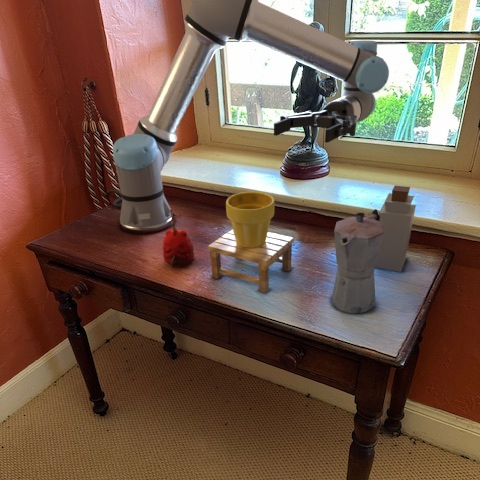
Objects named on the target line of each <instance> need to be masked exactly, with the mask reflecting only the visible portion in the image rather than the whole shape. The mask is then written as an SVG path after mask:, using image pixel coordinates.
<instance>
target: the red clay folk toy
mask: <svg viewBox="0 0 480 480" xmlns="http://www.w3.org/2000/svg"><path fill="white" fill-rule="evenodd" d="M170 212H171V217H172V224H171V226H172V229H171V228H169V229H167V230H166V231H165V236H164V238H163V244H162V256H163V260H164V262H165V263H166V265H168V266H170V267H172V268H175V269H176V268H184V267H186V266H189V265H190V264H192V262H193V261H194V258H195V252H194V249H195V248H194V244H193V241H192V239H191V238H190V236H189V235H188V232H187V231H186V230H185V229H176V225H175V217H176V218H179V219H182V214H175V213H174V211H173V209H171V208H170Z"/></svg>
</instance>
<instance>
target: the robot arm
mask: <svg viewBox="0 0 480 480" xmlns="http://www.w3.org/2000/svg"><path fill="white" fill-rule="evenodd" d="M190 4H191V5H190V6H189V9H188V11H187V13H186V15H185V18H184V19H183V21H184V26H185V33H184V35H183V37H182V40H181V42H180V44H179V46H178V48H177V50H176V53H175V55H174V57H173V59H172V61H171V63H170V66H169V68H168V70H167V72H166V75H165V76H164V79H163V81H162V83H161V86H160V88H159V90H158V92H157V94H156V97H155V98H154V101H153V103H152V105H151V107H150V110H149V112H148V114H147V115H144V116H141V117H140V118H139V120H138V123H137V125H136V127H135V129H134V132H133V134H127V135H124V137H120V138H118V139H116V140H115V142H114V143H113V145H112V157H113V162H114V164H115V165H114V166H115V170H116V176H117V179H118V186H119V190H120V191H119V190H116V189H109V190H107V192H106V195H110V194H111V193H114V194H116V195H118V196H120V197H119V198H117V199H115V200H114V201H112V205H113V206H114V207H116V208H119V209H120V214H119V215H120V216H119V223H120V228H121V229H122V230H123V231H124V232H127V233H131V234H141V235H142V234H143V235H145V234H150V233H156V232H160V231H163V230H165V229H167V228H169V227H170V226H172V217H171V212H170V209H171V206H170V205H169V203H168V201H167V198H166V196H165V193H164V187H163V179H162V170H163V168H164V167H165V165H166V164H167V162H168V161H169V159H170V158H171V157H170V156H171V153H172V152H173V149H174V147H175V146H176V143H177V141H178V135H177V134H176V131H177V129H178V127H179V125H180V123H181V121H182V119H183V117H184V115H185V113H186V111H187V109H188V107H189V105H190V103H191V101H192V99H193V97H194V95H195V93H196V91H197V88H198V87H199V85H200V83H201V81H202V79H203V76H204V75H205V73H206V71H207V69H208V67H209V65H210V63H211V61H212V59H213V57H214V54H215V53H216V51H217V50H221V49H224V47H225V46H226V44H227V42H228V40H229V38H231V39H234V40H236V41H238V42H240V43H241V42H243V41H245V40H248V41H250V42H253V43H255V44H258V45H259V46H262V47H264V48H266V49H269V50H271V51H273V52H275V53H278V54H280V55H282V56H285V57H287V58H289V59H291V60H294V61H297V62H298V63H301V64H302V65H305V66H308V67H310V68H312V69H315V70H317V71H319V72H321V73H323V74H326V75H328V76H331V77H333V78H336V79H337V80H340V81H342V82H343V83H344V85H343V93H342V94H343V95H342V96H341V97H339V98H337V99H335V100H332V101H330V102H328V103H327V104H325V105H324V107H323V109H322V110H320V111H314V112H313V111H312V110H307V111H303V112H298V113H291V114H286V115H280V117H279V121H276V122H274V123H273V136H279V135H281V134H284V133H286V132H287V133H288V132H289V131H291V129H297V128H306V127H307V128H308V127H310V128H311V129H314V128H315V129H317V128H321V129H325V135H324V136H325V137H324V143H327V144H328V143H330V142H332V141H334V140H336V139H338V138H340V137H346V136H347V135H348V134H349V136H350V137H355V136H356V130H357V123H360V122H363V121H364V120H366V119H367V118H369V117H370V116H371V115H372V114H373V113H374V111H375V109H376V105H377V101H376V98H375V93H378V92H379V91H381V90H382V89H383V88H384V87H385V85H386V84H388V83H387V82H388V80H389V77H390V76H389V75H390V69H389V66H388V64H387V61H386V60H384V58H382V57H380V56H378V43H377V42H376V41H375V40H353V41H350V42H347V41H345V40H343V39H341V38H338V37H336V36H334V35H331V34H329V33H327V32H325V31H324V30H321V29H318V28H317V27H315V26H312V25H310V24H308V23H305V22H304V21H301V20H299V19H297V18H295V17H293V16H291V15H288V14H286V13H284V12H281V11H280V10H278V9H275V8H273V7H270V6H269V5H267V4H264V3H262V2H260V1H259V0H191V2H190ZM119 202H121V204H120V203H119ZM118 203H119V204H118Z"/></svg>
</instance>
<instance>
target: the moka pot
mask: <svg viewBox="0 0 480 480" xmlns="http://www.w3.org/2000/svg"><path fill="white" fill-rule="evenodd" d="M379 220H380V215H379V211H378V209H376V208H375V209H374V210H373V211H372V212H371V213H368V214H365V213H364V212H356V214H355V216H349V217H347V218H344V219H340V220H338V221H336V224H335V227H334V229H333V230H334V231H333V234H334V247H335V259H336V261H335V262H336V264H337V271H336V275H335V279H334V284H333V290H332V294H331V302H332V305H333V306H334V308H336V309H338V310H339V311H342V312H344V313H348V314H362V313H366V312H368V311H370V310H372V309H373V308H374V307H375V305H376V301H377V298H376V282H375V268H376V267H375V266H376V262H377V258H378V254H379V251H380V247H381V243H382V239H383V235H384V224H383V223H381V222H379Z"/></svg>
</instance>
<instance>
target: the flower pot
mask: <svg viewBox="0 0 480 480" xmlns="http://www.w3.org/2000/svg"><path fill="white" fill-rule="evenodd" d="M275 201H276V200H275V198H274V197H273V195H271V194H268V193H265V192H261V191H242V192H238V193H235V194H232V195H230V196H229V197H227V199H226V201H225V211H226V217H227V219H228V220H230V224H231V228H232V229H233V231H234V235H235V239H236V242H237V244H238V245H239V246H241V247H245V248H256V247H259V246H261V245H263V244H264V243H265V241H266V238H267V233H268V232H269V229H270V224H271V220H272V219H273V217H274V216H275V203H276V202H275Z"/></svg>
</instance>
